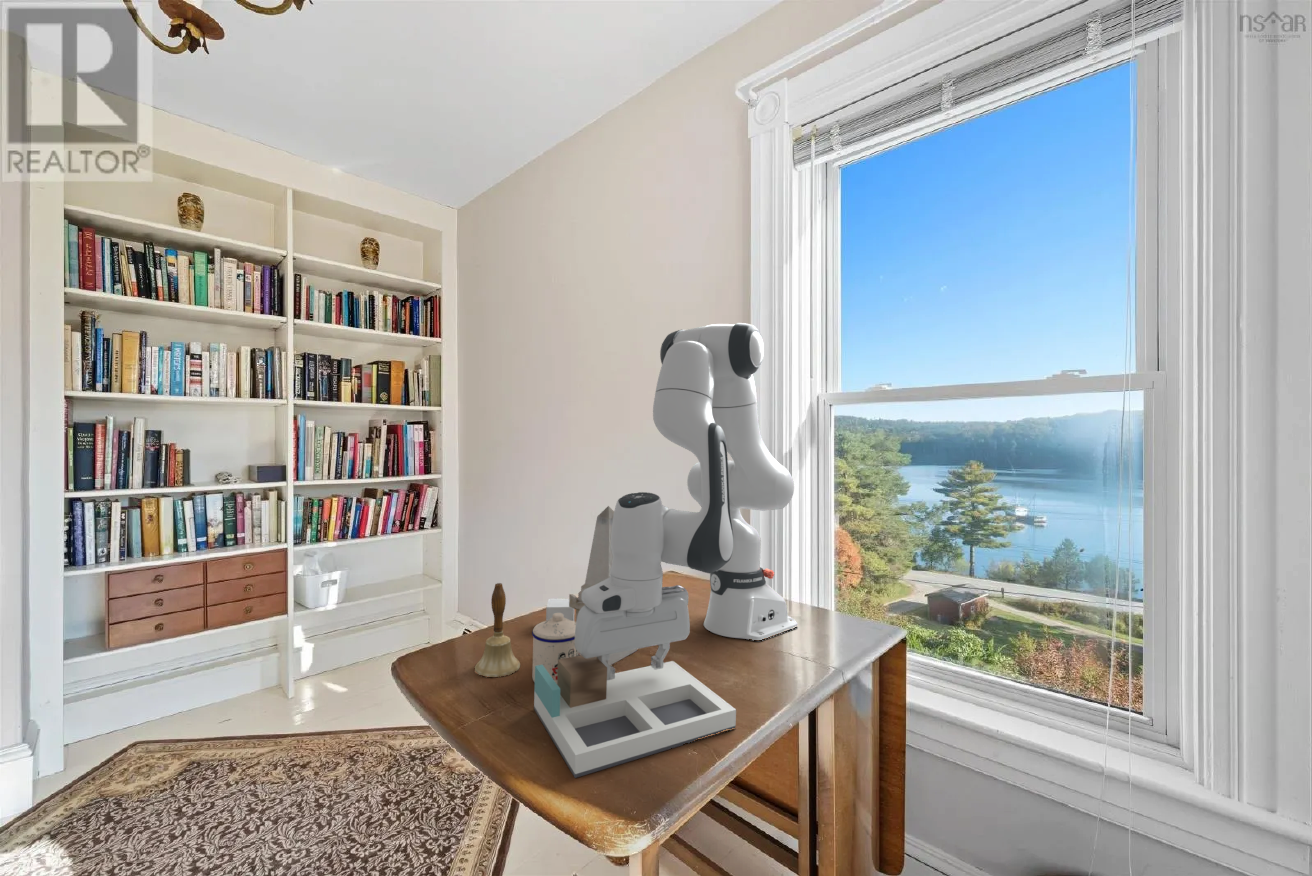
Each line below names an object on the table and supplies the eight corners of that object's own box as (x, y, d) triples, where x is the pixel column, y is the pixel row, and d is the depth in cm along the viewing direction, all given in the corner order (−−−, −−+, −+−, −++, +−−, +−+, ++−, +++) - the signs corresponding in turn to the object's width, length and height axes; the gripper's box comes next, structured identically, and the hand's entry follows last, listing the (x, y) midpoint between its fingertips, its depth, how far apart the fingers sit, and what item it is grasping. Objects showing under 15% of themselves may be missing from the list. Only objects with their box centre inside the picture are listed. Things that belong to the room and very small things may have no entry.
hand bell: (515, 678, 96) (517, 590, 96) (468, 678, 95) (470, 590, 95) (523, 658, 104) (525, 577, 104) (480, 658, 104) (482, 577, 104)
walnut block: (591, 682, 89) (592, 653, 89) (606, 699, 83) (607, 667, 83) (557, 690, 86) (557, 659, 86) (570, 707, 80) (570, 675, 80)
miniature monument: (640, 650, 110) (644, 505, 109) (607, 668, 101) (612, 511, 101) (601, 638, 116) (605, 500, 115) (567, 654, 107) (571, 505, 106)
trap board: (672, 677, 98) (673, 639, 98) (735, 728, 81) (736, 683, 81) (534, 709, 86) (535, 665, 85) (574, 778, 69) (576, 724, 69)
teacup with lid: (555, 695, 90) (557, 627, 90) (520, 679, 96) (521, 615, 95) (602, 670, 100) (604, 609, 100) (568, 657, 105) (569, 599, 105)
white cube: (547, 624, 123) (548, 598, 123) (574, 624, 124) (574, 598, 124) (545, 634, 117) (546, 607, 117) (573, 633, 118) (573, 606, 118)
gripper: (678, 579, 96) (676, 654, 97) (572, 592, 87) (569, 677, 87) (698, 588, 91) (695, 668, 91) (586, 604, 81) (584, 694, 81)
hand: (633, 673), depth 89 cm, fingers open, 8 cm apart
